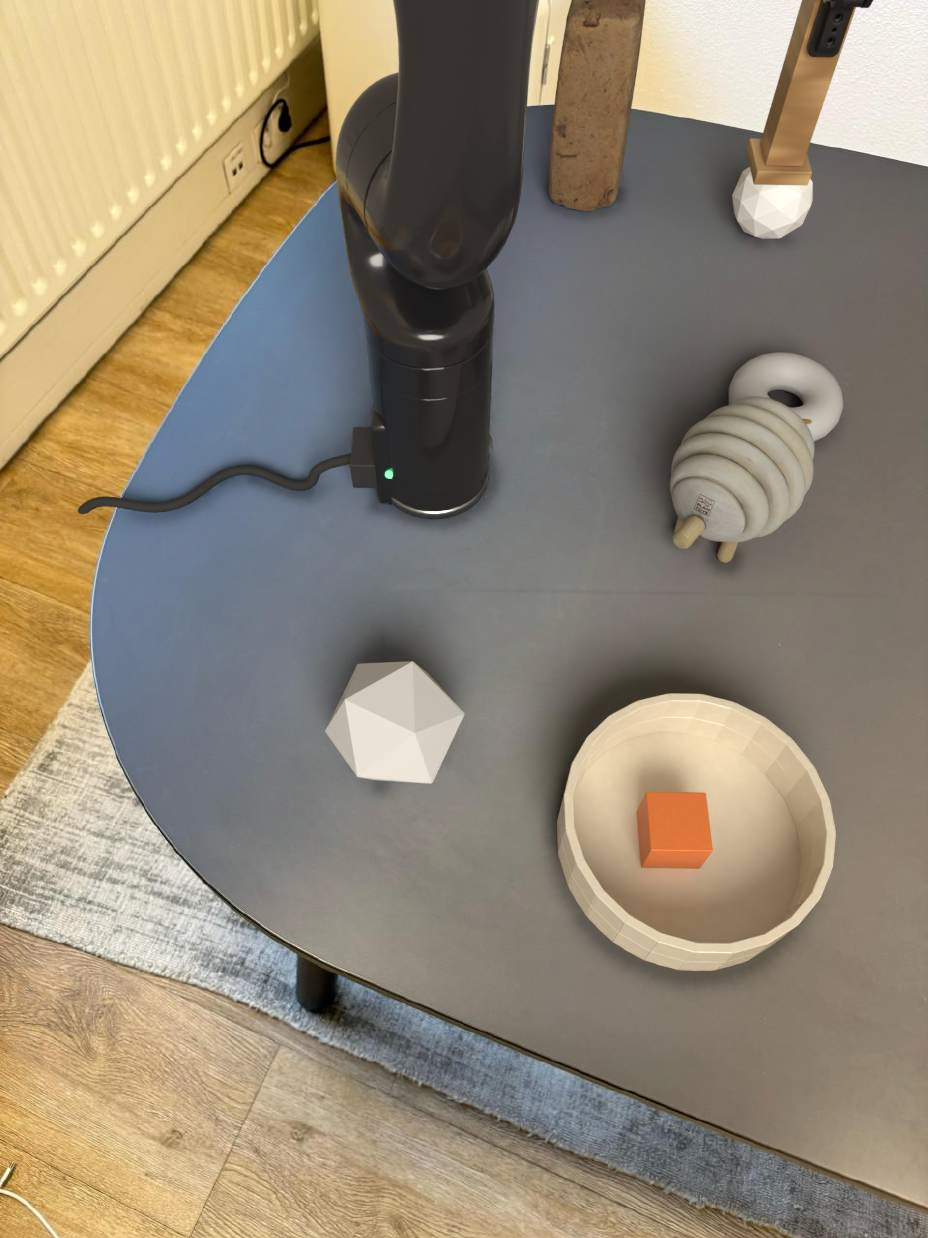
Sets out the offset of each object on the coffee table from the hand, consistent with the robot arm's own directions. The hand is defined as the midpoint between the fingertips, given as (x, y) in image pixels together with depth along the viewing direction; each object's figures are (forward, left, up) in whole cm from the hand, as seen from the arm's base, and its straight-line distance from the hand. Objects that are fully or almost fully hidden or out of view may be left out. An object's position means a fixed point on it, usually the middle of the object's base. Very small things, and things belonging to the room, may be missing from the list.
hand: (817, 39), depth 71 cm
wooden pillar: (0, 0, -10) cm, 10 cm away
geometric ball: (+5, +13, -27) cm, 30 cm away
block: (-13, +20, -27) cm, 36 cm away
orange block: (-11, -52, -26) cm, 59 cm away
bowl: (-10, -52, -27) cm, 59 cm away
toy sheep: (-4, -24, -27) cm, 36 cm away
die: (-30, -45, -27) cm, 60 cm away
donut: (+3, -12, -27) cm, 29 cm away
